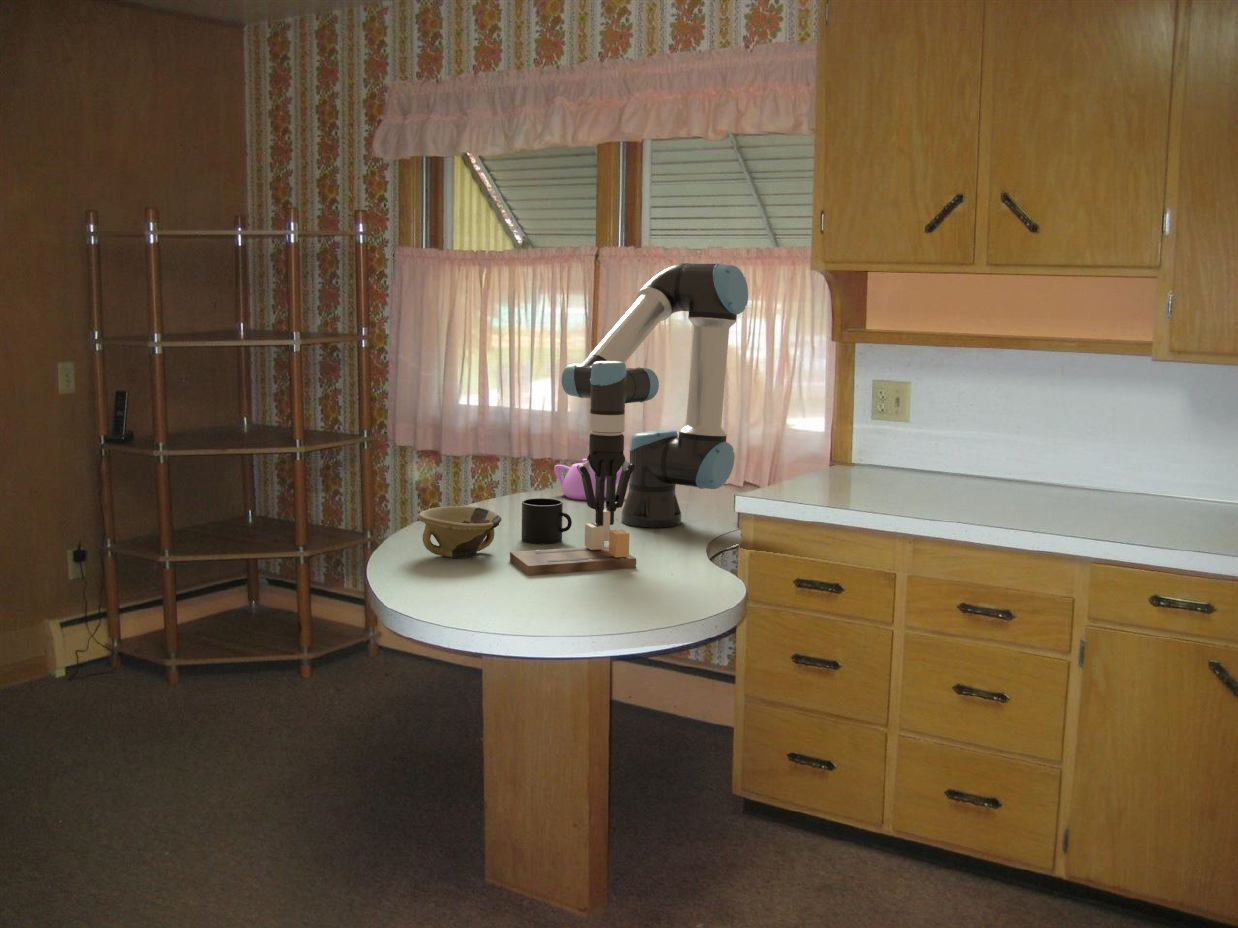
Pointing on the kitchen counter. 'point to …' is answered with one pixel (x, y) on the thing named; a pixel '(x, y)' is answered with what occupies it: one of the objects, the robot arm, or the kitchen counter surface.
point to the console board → (569, 560)
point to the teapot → (577, 481)
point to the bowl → (458, 530)
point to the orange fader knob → (619, 543)
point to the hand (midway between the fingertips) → (604, 539)
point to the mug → (543, 521)
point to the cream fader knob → (594, 536)
